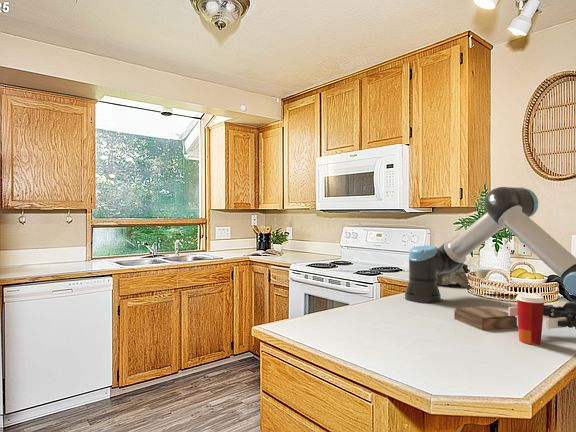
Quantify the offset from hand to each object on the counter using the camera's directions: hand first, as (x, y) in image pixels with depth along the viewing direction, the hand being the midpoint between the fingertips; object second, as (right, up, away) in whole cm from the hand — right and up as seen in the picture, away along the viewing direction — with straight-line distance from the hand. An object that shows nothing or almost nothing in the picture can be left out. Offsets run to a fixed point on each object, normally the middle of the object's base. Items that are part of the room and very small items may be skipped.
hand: (526, 317), depth 119 cm
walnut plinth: (-3, -7, +21) cm, 22 cm away
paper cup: (+1, -8, +1) cm, 8 cm away
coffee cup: (+23, -7, +70) cm, 74 cm away
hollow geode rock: (+10, -6, +92) cm, 93 cm away
